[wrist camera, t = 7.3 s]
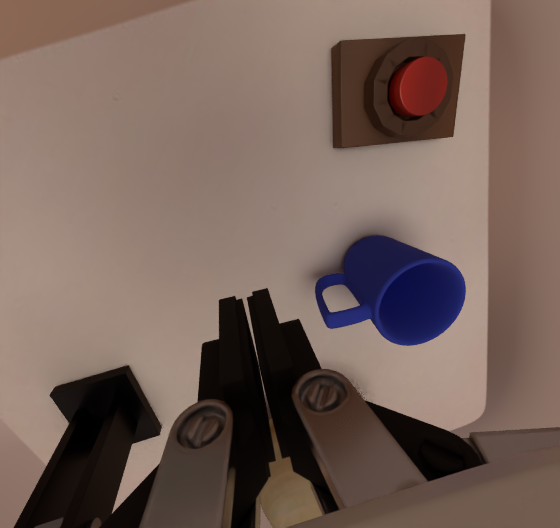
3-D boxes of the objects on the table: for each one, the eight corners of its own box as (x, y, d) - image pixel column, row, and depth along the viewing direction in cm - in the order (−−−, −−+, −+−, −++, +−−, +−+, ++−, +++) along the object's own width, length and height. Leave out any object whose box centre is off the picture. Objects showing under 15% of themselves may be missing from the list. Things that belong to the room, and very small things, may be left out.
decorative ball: (355, 440, 45) (413, 570, 32) (254, 462, 43) (270, 611, 29) (359, 358, 40) (433, 473, 26) (243, 378, 37) (256, 515, 24)
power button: (387, 119, 26) (398, 117, 24) (389, 63, 24) (401, 57, 23) (430, 115, 26) (444, 113, 25) (436, 60, 25) (450, 54, 23)
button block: (333, 147, 29) (349, 148, 26) (331, 48, 26) (349, 33, 23) (438, 137, 31) (467, 136, 27) (448, 41, 28) (482, 26, 24)
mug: (294, 244, 32) (323, 285, 23) (401, 218, 33) (469, 248, 24) (306, 310, 35) (336, 369, 26) (403, 284, 37) (464, 332, 27)
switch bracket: (54, 386, 33) (-59, 554, 20) (128, 365, 34) (67, 513, 20) (96, 447, 37) (25, 621, 24) (161, 426, 38) (129, 585, 24)
